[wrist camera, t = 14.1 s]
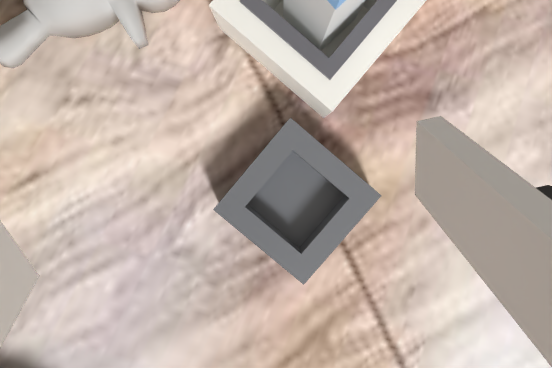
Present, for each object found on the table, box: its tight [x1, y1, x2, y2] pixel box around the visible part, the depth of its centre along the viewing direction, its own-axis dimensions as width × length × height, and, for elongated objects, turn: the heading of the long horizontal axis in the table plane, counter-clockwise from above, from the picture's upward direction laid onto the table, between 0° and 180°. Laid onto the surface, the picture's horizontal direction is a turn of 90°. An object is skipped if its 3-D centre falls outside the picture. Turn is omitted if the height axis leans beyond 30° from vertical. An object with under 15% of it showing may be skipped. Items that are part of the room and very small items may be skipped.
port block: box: [209, 0, 426, 118], centre depth 28 cm, size 11×11×5 cm
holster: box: [213, 118, 381, 284], centre depth 31 cm, size 9×9×3 cm
